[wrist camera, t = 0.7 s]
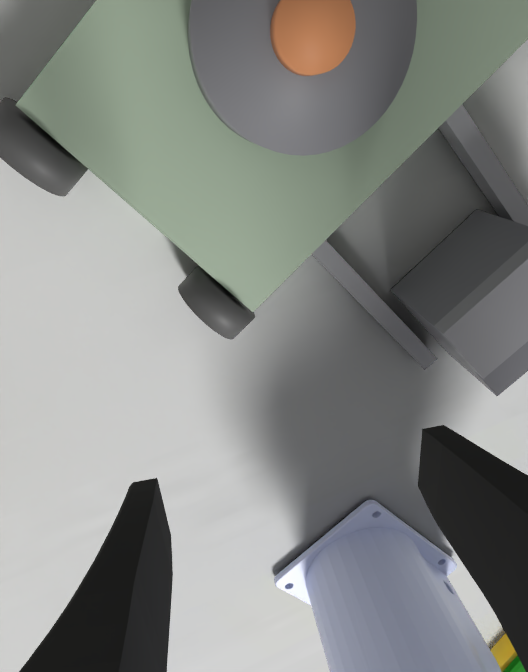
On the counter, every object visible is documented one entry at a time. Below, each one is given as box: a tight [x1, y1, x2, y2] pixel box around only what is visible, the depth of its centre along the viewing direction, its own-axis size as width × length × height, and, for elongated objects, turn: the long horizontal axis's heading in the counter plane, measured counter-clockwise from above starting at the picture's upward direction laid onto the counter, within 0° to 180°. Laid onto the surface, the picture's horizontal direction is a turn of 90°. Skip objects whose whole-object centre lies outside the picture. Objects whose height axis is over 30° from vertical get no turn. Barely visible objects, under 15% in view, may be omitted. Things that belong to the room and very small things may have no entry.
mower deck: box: [0, 0, 528, 370], centre depth 16 cm, size 20×17×6 cm
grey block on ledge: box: [391, 209, 528, 396], centre depth 20 cm, size 5×5×5 cm
